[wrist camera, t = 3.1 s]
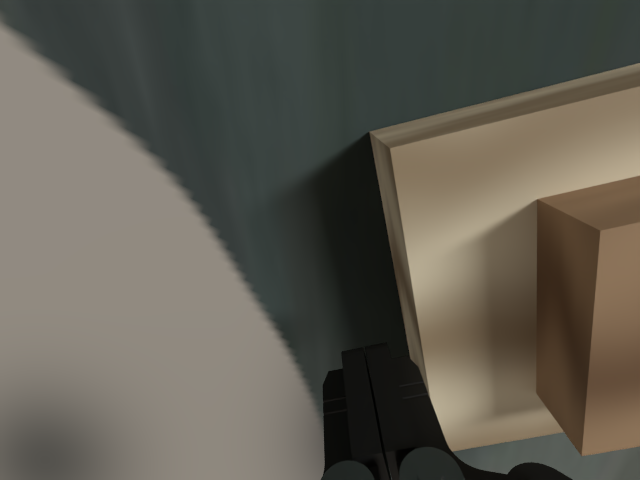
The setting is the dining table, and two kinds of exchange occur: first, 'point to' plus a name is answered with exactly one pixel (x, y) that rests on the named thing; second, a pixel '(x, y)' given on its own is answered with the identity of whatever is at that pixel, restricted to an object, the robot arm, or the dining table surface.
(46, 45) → the dining table surface
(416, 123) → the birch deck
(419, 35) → the dining table surface
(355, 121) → the dining table surface
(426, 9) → the dining table surface
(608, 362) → the walnut tile
